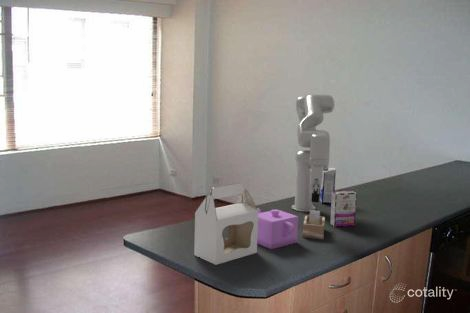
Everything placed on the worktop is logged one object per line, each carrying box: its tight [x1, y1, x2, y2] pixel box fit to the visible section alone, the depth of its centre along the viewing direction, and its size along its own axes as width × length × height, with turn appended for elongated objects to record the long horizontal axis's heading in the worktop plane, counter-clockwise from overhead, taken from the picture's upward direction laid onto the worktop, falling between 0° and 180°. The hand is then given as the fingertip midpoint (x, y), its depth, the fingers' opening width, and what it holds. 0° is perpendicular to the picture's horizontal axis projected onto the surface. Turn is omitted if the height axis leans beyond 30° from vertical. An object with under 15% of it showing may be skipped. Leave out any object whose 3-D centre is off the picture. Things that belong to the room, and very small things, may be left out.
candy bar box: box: [329, 190, 358, 228], centre depth 247 cm, size 11×5×16 cm, turn 105°
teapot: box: [257, 207, 299, 250], centre depth 220 cm, size 15×25×14 cm, turn 39°
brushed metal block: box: [308, 209, 321, 225], centre depth 233 cm, size 4×4×9 cm
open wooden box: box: [302, 214, 326, 240], centre depth 233 cm, size 15×9×6 cm, turn 169°
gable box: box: [193, 182, 258, 266], centre depth 202 cm, size 22×13×28 cm, turn 133°
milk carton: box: [319, 166, 337, 205], centre depth 288 cm, size 7×7×20 cm
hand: (315, 199), depth 232 cm, fingers open, 9 cm apart
